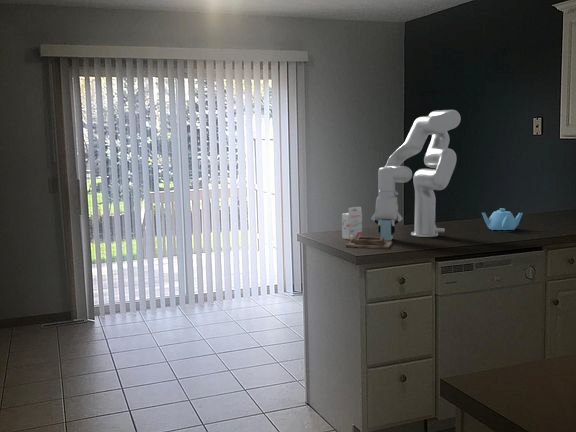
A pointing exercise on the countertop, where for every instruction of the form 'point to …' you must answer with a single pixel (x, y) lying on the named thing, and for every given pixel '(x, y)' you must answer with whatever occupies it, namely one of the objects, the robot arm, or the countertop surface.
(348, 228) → the ink cartridge box
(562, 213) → the countertop surface
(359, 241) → the cradle
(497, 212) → the teapot
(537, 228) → the countertop surface
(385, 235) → the key block
